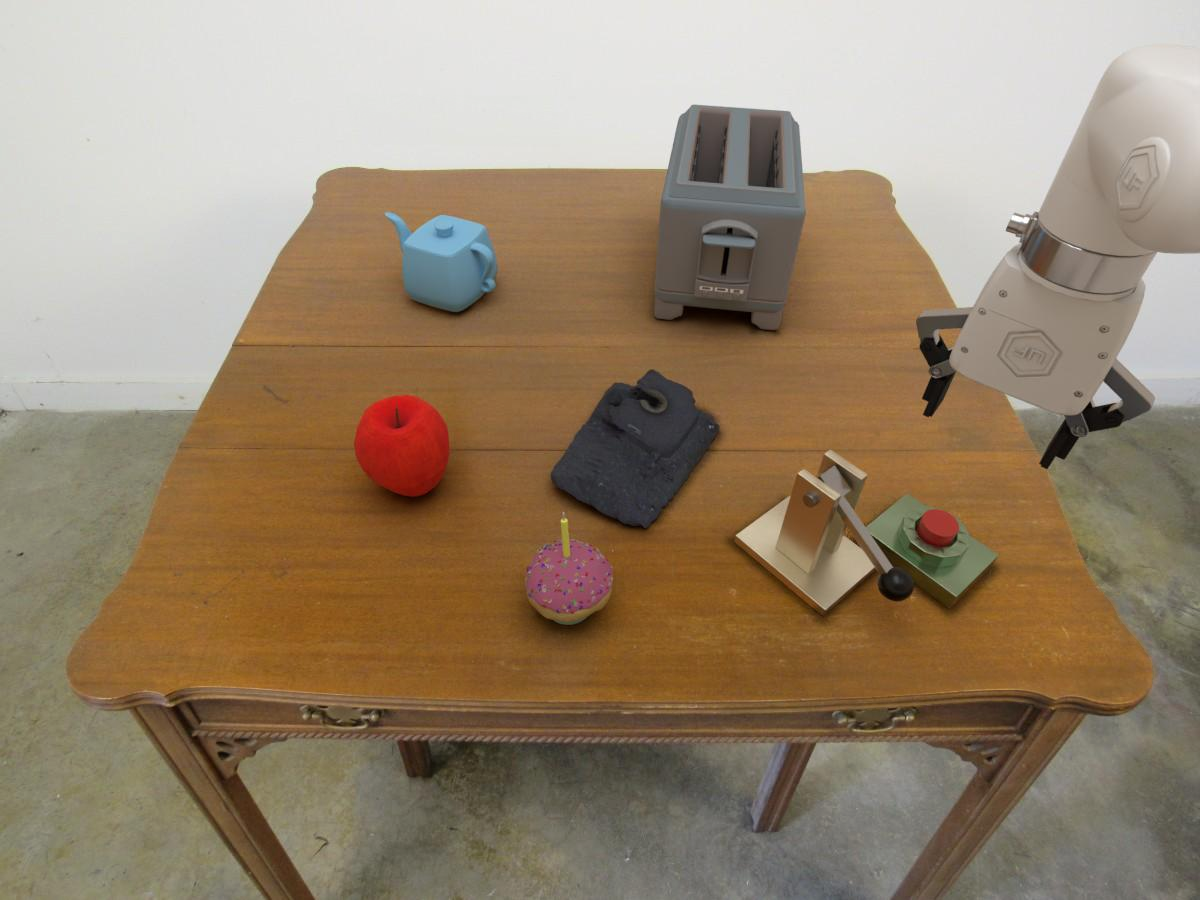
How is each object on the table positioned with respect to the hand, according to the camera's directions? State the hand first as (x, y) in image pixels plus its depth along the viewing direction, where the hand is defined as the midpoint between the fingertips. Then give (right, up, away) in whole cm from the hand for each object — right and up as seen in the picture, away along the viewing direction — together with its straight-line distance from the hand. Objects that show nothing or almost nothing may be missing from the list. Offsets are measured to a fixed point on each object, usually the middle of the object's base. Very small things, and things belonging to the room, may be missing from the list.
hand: (988, 432), depth 62 cm
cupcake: (-36, -17, +11) cm, 41 cm away
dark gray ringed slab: (-29, -2, +27) cm, 39 cm away
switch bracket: (-11, -13, +16) cm, 23 cm away
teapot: (-56, +23, +50) cm, 79 cm away
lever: (-8, -10, +9) cm, 16 cm away
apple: (-54, -6, +22) cm, 59 cm away
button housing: (+2, -13, +16) cm, 21 cm away
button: (+2, -10, +14) cm, 17 cm away
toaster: (-14, +25, +54) cm, 61 cm away
